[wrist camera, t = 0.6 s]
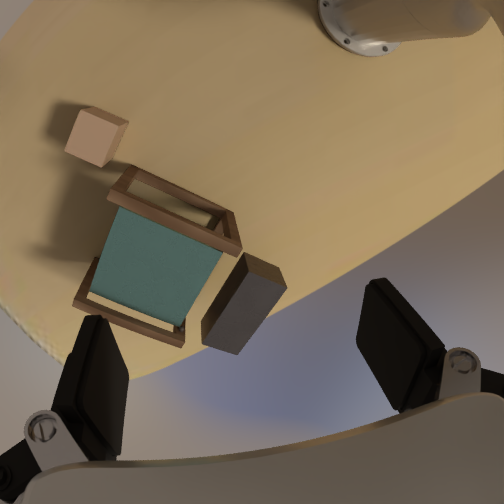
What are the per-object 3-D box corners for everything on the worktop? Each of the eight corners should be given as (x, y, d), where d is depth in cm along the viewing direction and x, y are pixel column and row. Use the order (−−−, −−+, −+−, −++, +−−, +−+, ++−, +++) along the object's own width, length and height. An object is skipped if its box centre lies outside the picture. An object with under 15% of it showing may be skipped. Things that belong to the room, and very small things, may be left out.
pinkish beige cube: (94, 106, 33) (80, 109, 28) (129, 121, 35) (119, 126, 30) (79, 143, 35) (64, 151, 30) (112, 158, 36) (101, 167, 32)
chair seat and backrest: (125, 198, 33) (115, 212, 29) (279, 267, 40) (287, 287, 36) (94, 278, 37) (85, 299, 33) (233, 332, 44) (237, 355, 40)
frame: (131, 164, 37) (110, 188, 28) (233, 212, 42) (242, 248, 33) (92, 263, 42) (72, 306, 34) (183, 300, 48) (181, 348, 39)
